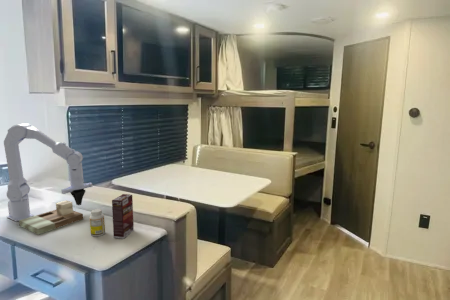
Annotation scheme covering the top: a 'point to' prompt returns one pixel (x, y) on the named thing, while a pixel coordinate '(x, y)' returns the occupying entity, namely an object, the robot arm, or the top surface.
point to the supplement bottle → (97, 222)
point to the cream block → (64, 208)
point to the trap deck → (49, 221)
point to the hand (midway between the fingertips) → (78, 204)
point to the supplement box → (122, 216)
